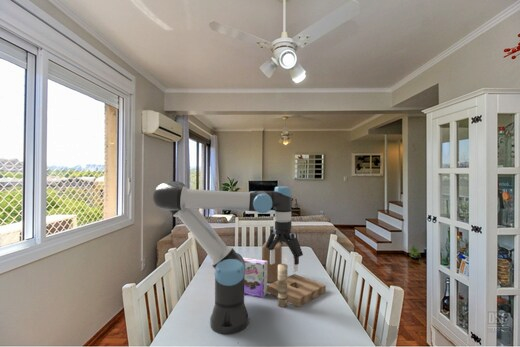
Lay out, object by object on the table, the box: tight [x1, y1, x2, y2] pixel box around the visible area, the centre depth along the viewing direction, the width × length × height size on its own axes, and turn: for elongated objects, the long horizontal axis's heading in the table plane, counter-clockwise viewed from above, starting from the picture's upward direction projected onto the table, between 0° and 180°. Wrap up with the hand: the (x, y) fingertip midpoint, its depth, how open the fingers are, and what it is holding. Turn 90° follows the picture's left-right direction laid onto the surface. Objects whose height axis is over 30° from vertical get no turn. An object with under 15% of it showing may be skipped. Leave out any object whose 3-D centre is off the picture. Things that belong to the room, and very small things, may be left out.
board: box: [267, 273, 326, 308], centre depth 131 cm, size 22×20×4 cm
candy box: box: [242, 256, 268, 299], centre depth 130 cm, size 14×6×16 cm, turn 68°
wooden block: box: [261, 241, 283, 284], centre depth 146 cm, size 10×10×20 cm
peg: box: [276, 263, 289, 308], centre depth 118 cm, size 5×5×18 cm
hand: (283, 267), depth 118 cm, fingers open, 13 cm apart
